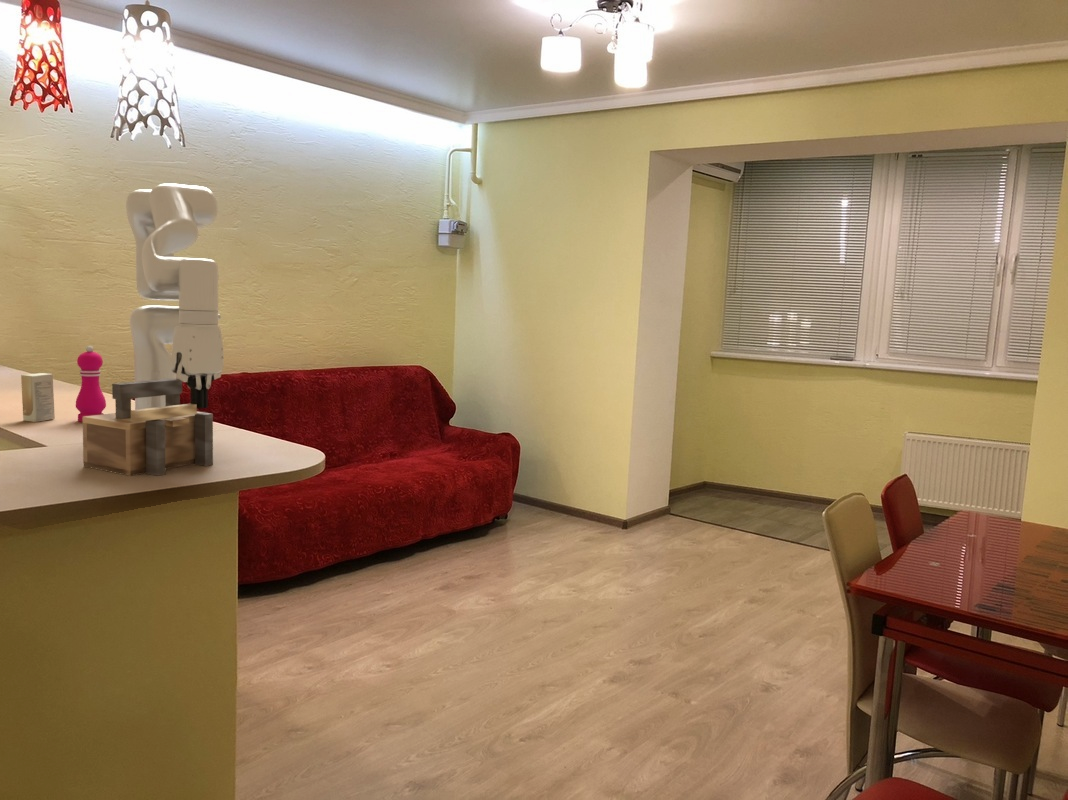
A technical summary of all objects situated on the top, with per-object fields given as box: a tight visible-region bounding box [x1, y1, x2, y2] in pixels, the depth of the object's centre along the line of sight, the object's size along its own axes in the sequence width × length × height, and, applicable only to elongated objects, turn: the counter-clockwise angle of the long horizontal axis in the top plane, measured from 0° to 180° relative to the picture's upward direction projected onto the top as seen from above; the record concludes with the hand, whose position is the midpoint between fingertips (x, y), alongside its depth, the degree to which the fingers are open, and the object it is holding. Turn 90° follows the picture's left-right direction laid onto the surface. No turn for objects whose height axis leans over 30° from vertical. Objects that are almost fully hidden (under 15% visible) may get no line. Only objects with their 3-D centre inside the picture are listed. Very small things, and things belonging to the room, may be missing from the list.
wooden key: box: [131, 403, 198, 422], centre depth 170 cm, size 14×2×2 cm, turn 153°
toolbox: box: [82, 411, 214, 477], centre depth 177 cm, size 20×18×11 cm
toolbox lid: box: [82, 379, 212, 430], centre depth 177 cm, size 20×16×8 cm
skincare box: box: [20, 372, 56, 423], centre depth 224 cm, size 6×4×12 cm
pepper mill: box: [75, 345, 107, 423], centre depth 227 cm, size 7×7×20 cm
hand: (199, 407), depth 177 cm, fingers closed
